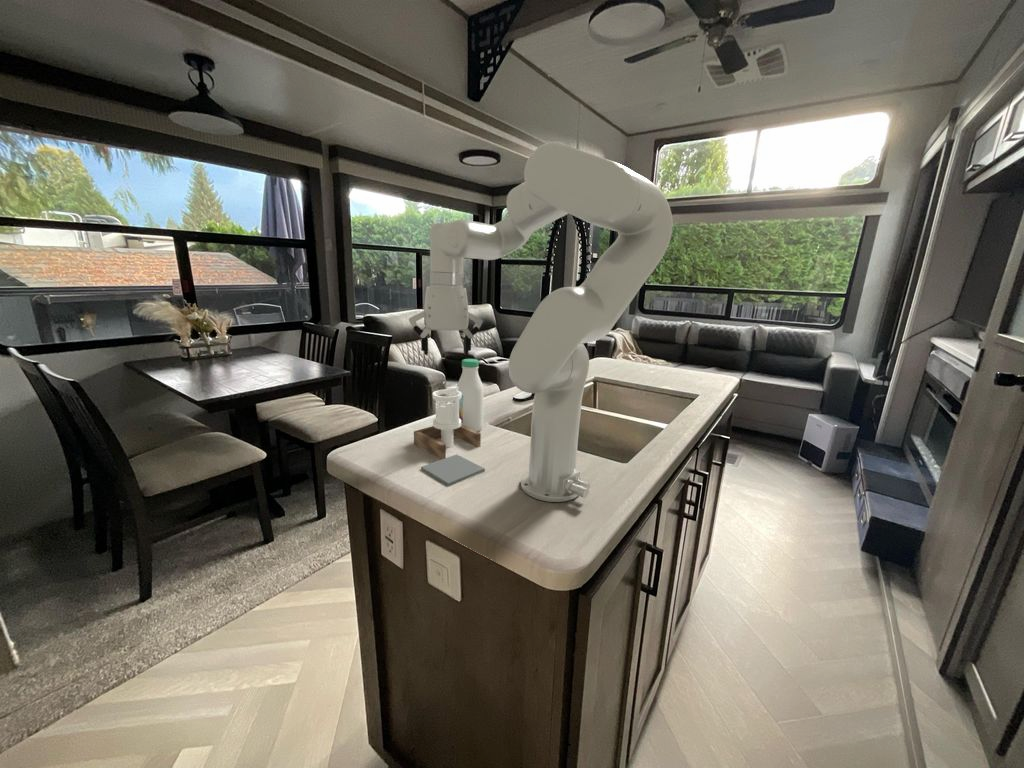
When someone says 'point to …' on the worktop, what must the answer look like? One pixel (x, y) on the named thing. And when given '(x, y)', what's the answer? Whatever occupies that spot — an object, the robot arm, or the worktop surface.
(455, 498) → the worktop surface
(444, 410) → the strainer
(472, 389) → the milk bottle
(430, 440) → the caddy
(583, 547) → the worktop surface
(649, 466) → the worktop surface
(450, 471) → the trivet
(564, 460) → the robot arm
